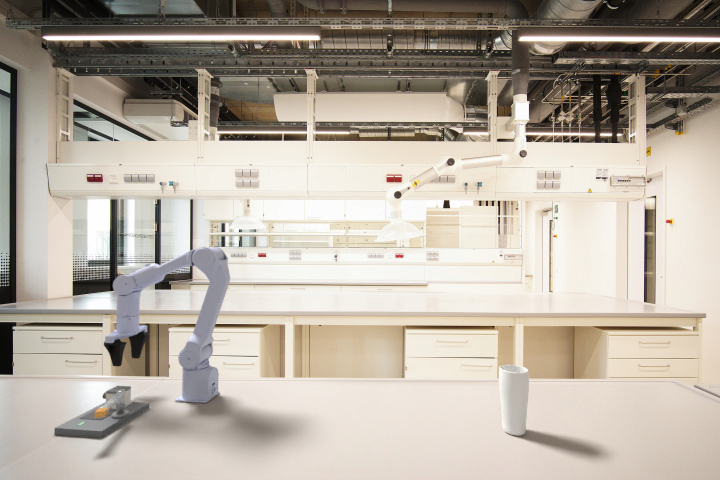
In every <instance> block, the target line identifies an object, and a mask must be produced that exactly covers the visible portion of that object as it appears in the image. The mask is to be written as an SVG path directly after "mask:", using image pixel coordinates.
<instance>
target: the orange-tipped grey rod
mask: <svg viewBox="0 0 720 480" xmlns="http://www.w3.org/2000/svg"><path fill="white" fill-rule="evenodd" d="M115 403H116V414H122V413H124V412H125V390H124V389H122V390H118V391H117V393H116V394H115V395H114V396H113V397H112V398H111V399H110V400H109V401H108V402H107V403H106V404H105V405H104V406H103V407H102V408H99V409H97V410H96V411H95V418H98V417H105V416H106V415H107V414H108V413H109V410H110V409H111V408H112V407H113V405H114V404H115Z"/></svg>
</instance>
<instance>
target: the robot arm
mask: <svg viewBox="0 0 720 480" xmlns="http://www.w3.org/2000/svg"><path fill="white" fill-rule="evenodd" d="M228 261H229V257H228V256H227V254H226V253H225V252H224V250H223V249H222V248H220V247H217V246H216V247H215V246H214V247H206V246H201V247H198V248H196V249H190V250H188V251H186V252H184V253H182V254H180V255H178V256H176V257H174V258H172V259H170V260H168V261H165V262H164V263H162V264H158V263H151V262H148V263H145V265H144V267H142V268H140V269H137V270H135V269H134V270H131V271H130V272H129V274H120V275H118V276H117V277H116V278H115V279H114V280H113V281H112V282H113V283H112V288H113V292H114V293H115V294H116V321H115V322H116V324H115V326H116V327H115V328H116V329H114V330H112V333H109V334H107V335H104V342H103V346H104V347H105V349H106V350H107V352H108V355H109V357H110V360H111V364H112V366H113V367H121V366H122V364H123V358H124V357H123V356H124V352H125V347H126V345H127V344H128V342H127V341H122V340H123V339H127V338H128V340H129V342H130V343H129V344H130V349H131V350H130V354H131V358H132V359H140V358H141V355H142V351H143V349H144V346H145V343H146V341H147V340H148V338H149V337H150V332H149V333H148V325H140V304H141V303H140V301H141V293H142V291H143V290H144V289H147V288H148V287H151V286H154V285H155V284H156V285H157V284H158V283H161V282H162V281H164V279H165V277H166V275H168V274H170V273H173V272H176V271H178V270H181V269H183V268H186V267H189V266H190V267H196V268H197V269H198V270H199V271H200V272H202V273H203V274H204V275H205V277H206V278H207V280H208V281H209V284H208V286H207V290H206V293H205V296H204V299H203V302H202V305H201V307H200V311H199V314H198V317H197V319H196V323H195V326H194V329H193V331H192V334H191V335H190V336H189V338H188V339H187V341H186V343H185V346H184V347H183V348H182V349H181V350H180V352H179V353H178V363H179V365H180V367H182V369H181V370H182V376H181V378H182V379H181V380H182V381H181V383H182V384H181V395H179V396H178V397H176V398H175V399H174V402H185V403H188V402H189V403H203V404H204V403H208V402H209V401H210V400H212V399H213V398H214V397H216V396H217V395H218V394H219V393H220V390H219V375H220V373H219V369H218V368H217V366H212V365H210V358H211V357H212V355H213V353H214V348H213V343H214V340H215V339H214V336H213V334H214V330H215V327H216V324H217V321H218V319H219V316H220V312H221V309H222V305H223V303H224V301H225V297H226V293H227V290H228V288H229V285H230V281H231V274H230V269H229V265H228Z"/></svg>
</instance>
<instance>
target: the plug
mask: <svg viewBox="0 0 720 480" xmlns="http://www.w3.org/2000/svg"><path fill="white" fill-rule="evenodd" d="M122 389H124V390H125V404H127V403H128V402H130V401H131V400H132V386H129V385H128V386H127V385H116V386H114V387H112V388H110V389H107V390H106V391H105V392H104V393H103V394H102V399H103V400H105V402H106V403H107V402H108V401H109V400H110V399H111V398H112V397H113V396H114V395H115V394H116V393H117V391H118V390H122ZM113 407H116V403H115V404H114V405H113Z"/></svg>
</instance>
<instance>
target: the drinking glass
mask: <svg viewBox="0 0 720 480" xmlns="http://www.w3.org/2000/svg"><path fill="white" fill-rule="evenodd" d="M529 388H530V374H529V369H528V368H527V367H524V366H522V365H516V364H502V365H500V366H498V389H499V390H498V392H499V401H500V410H501V413H500V414H501V427H502V430H503V431H504V433H507V434H508V435H511V436H516V437H517V436H523V435H525V434H526V433H527V418H528V417H527V414H528V403H529V392H530V389H529Z"/></svg>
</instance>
